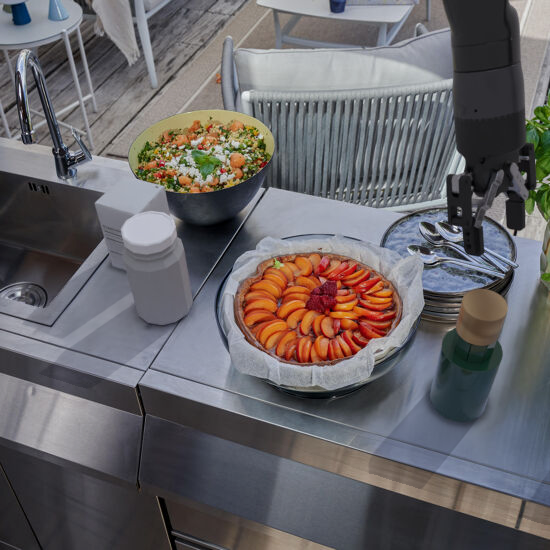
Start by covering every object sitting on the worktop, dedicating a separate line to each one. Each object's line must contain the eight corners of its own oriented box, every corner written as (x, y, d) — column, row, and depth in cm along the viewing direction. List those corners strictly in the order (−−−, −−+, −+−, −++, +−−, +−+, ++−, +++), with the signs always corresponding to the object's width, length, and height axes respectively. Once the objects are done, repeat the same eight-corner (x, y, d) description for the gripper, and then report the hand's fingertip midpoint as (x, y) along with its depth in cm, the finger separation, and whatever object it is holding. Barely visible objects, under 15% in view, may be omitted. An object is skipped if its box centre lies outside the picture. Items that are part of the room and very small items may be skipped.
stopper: (491, 334, 88) (504, 290, 82) (496, 366, 84) (511, 322, 78) (449, 330, 89) (460, 287, 83) (452, 362, 85) (464, 319, 79)
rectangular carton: (138, 237, 124) (123, 173, 113) (178, 249, 121) (166, 184, 110) (110, 267, 118) (92, 202, 107) (151, 280, 115) (136, 215, 104)
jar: (140, 289, 113) (120, 208, 101) (195, 286, 113) (182, 205, 101) (133, 330, 106) (111, 249, 94) (192, 327, 106) (177, 246, 94)
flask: (482, 380, 97) (504, 311, 86) (488, 425, 91) (512, 357, 81) (428, 376, 98) (444, 306, 87) (431, 420, 92) (448, 352, 82)
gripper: (479, 125, 64) (488, 270, 71) (555, 91, 72) (557, 225, 78) (420, 123, 70) (433, 258, 76) (496, 91, 77) (502, 216, 84)
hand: (496, 241), depth 77 cm, fingers open, 8 cm apart
